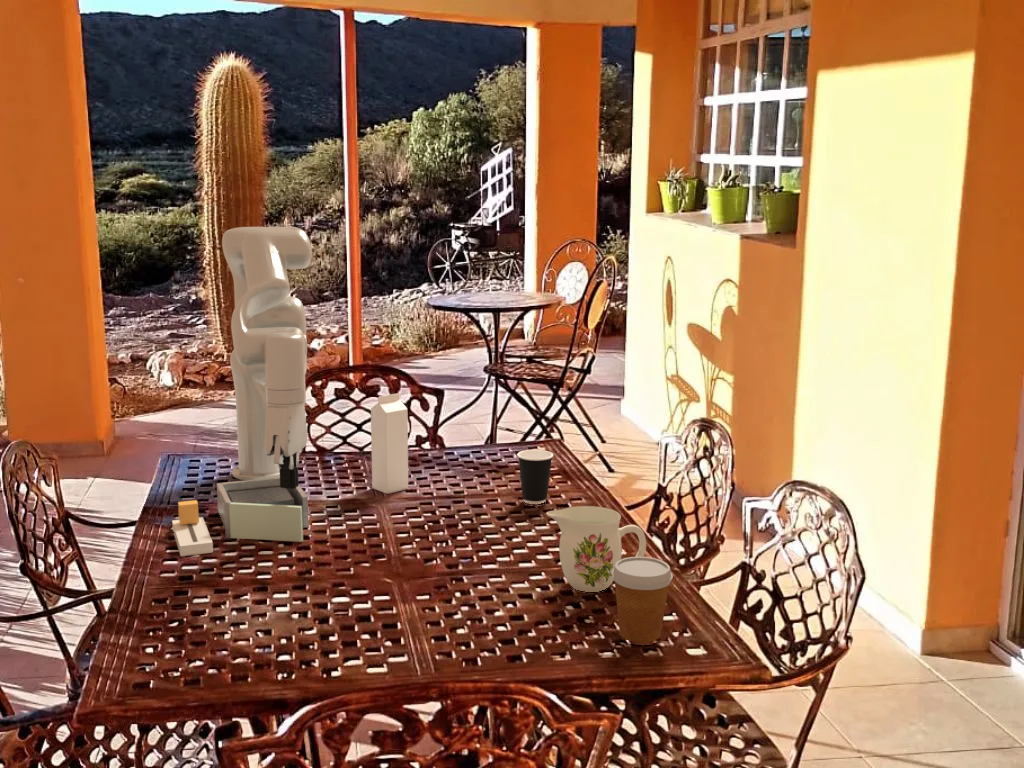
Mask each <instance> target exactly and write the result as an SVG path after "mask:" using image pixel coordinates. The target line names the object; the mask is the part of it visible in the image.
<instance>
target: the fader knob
mask: <svg viewBox="0 0 1024 768" xmlns="http://www.w3.org/2000/svg"><path fill="white" fill-rule="evenodd" d="M177 504H178V505H177V506H178V507H177V508H178V520H179V522H180V525H183V524H192V523H199V518H200V516H199V515H200V514H199V503H198V500H196V499H195V500H194V499H193V500H183V501H178V502H177Z"/></svg>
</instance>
